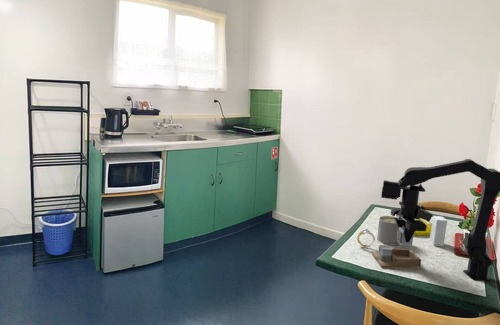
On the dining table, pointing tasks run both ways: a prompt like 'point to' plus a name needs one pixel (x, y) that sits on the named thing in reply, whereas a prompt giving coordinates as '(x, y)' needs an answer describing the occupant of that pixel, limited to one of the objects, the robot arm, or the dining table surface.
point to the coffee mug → (387, 230)
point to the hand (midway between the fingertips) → (405, 239)
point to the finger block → (403, 238)
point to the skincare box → (438, 231)
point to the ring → (364, 233)
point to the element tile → (428, 230)
